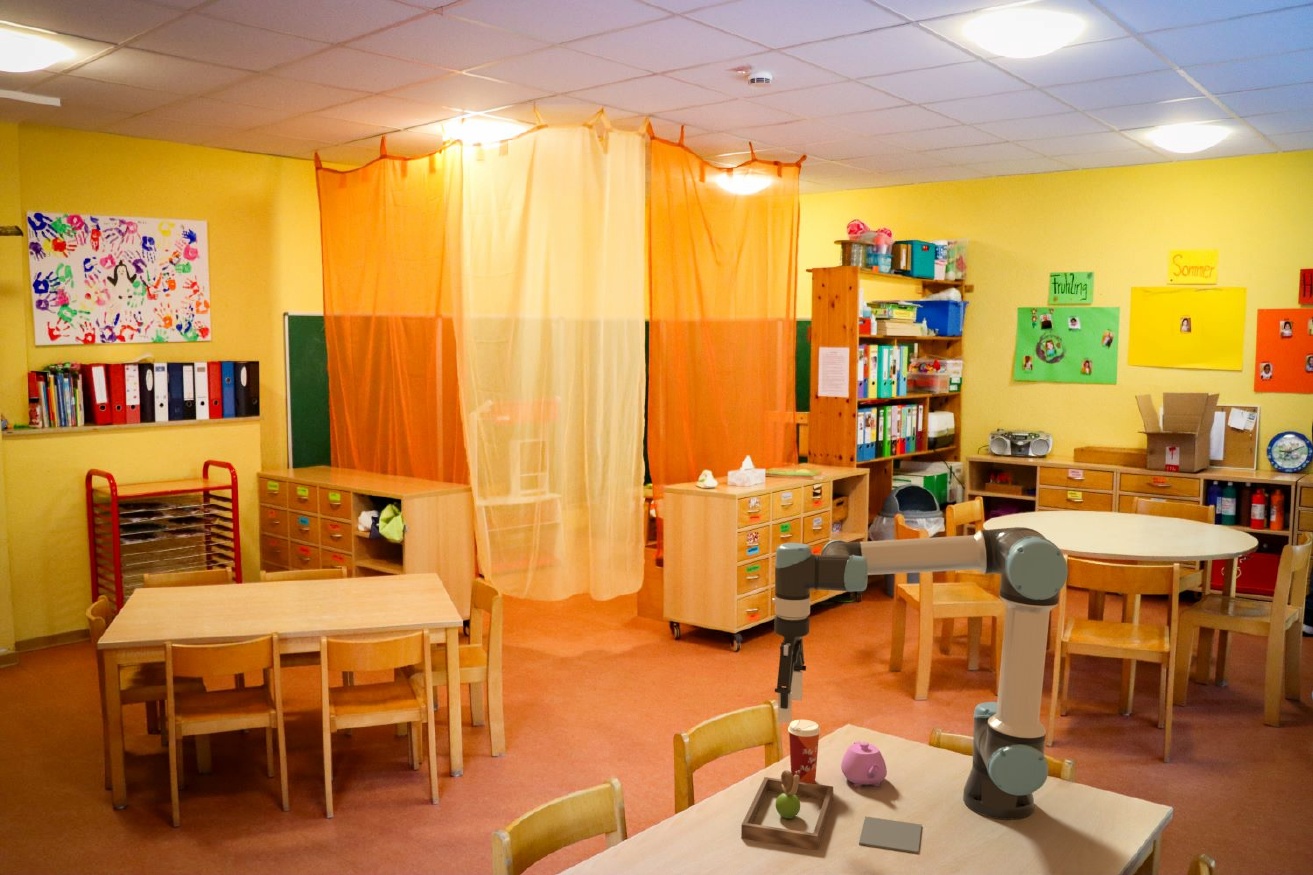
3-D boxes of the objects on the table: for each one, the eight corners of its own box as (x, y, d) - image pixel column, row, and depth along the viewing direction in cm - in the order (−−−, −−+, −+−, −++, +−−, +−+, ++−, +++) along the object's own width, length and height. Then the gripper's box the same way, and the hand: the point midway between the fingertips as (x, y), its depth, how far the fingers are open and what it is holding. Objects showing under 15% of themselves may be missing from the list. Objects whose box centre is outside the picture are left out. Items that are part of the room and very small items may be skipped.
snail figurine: (787, 826, 216) (788, 773, 215) (770, 814, 221) (771, 762, 220) (807, 821, 218) (808, 768, 217) (790, 808, 224) (791, 757, 223)
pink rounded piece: (874, 767, 245) (875, 731, 245) (897, 795, 231) (898, 756, 230) (833, 770, 244) (834, 733, 243) (854, 798, 229) (855, 759, 228)
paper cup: (809, 791, 232) (810, 733, 231) (781, 782, 237) (781, 725, 236) (825, 779, 239) (826, 723, 237) (797, 771, 243) (798, 715, 242)
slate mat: (921, 826, 216) (921, 824, 216) (918, 853, 205) (918, 851, 205) (865, 817, 220) (865, 816, 220) (859, 844, 208) (859, 842, 208)
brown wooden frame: (833, 798, 229) (833, 786, 228) (817, 849, 206) (817, 836, 206) (764, 789, 234) (764, 776, 233) (741, 837, 211) (741, 824, 211)
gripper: (785, 599, 228) (783, 689, 230) (763, 629, 205) (761, 729, 207) (818, 602, 226) (816, 692, 228) (799, 633, 202) (797, 734, 204)
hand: (790, 710), depth 217 cm, fingers open, 13 cm apart
